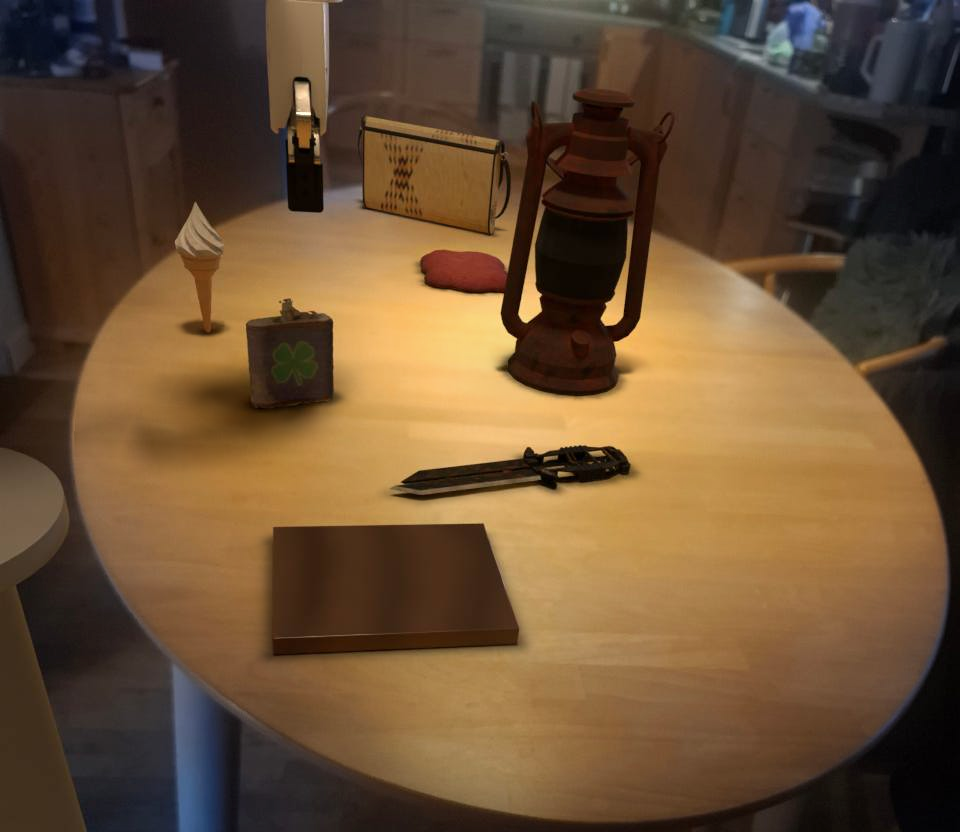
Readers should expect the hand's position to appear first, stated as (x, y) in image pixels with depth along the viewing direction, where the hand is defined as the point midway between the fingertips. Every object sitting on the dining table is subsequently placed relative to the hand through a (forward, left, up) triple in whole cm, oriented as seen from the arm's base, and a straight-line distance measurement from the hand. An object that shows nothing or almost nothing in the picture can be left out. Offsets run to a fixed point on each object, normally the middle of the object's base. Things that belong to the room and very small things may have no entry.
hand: (304, 197), depth 85 cm
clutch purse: (+24, +80, -21) cm, 86 cm away
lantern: (+31, +9, -21) cm, 38 cm away
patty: (+25, +47, -21) cm, 57 cm away
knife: (+19, -18, -21) cm, 34 cm away
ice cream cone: (-12, +20, -21) cm, 31 cm away
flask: (-2, 0, -21) cm, 21 cm away
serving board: (+5, -36, -20) cm, 42 cm away
